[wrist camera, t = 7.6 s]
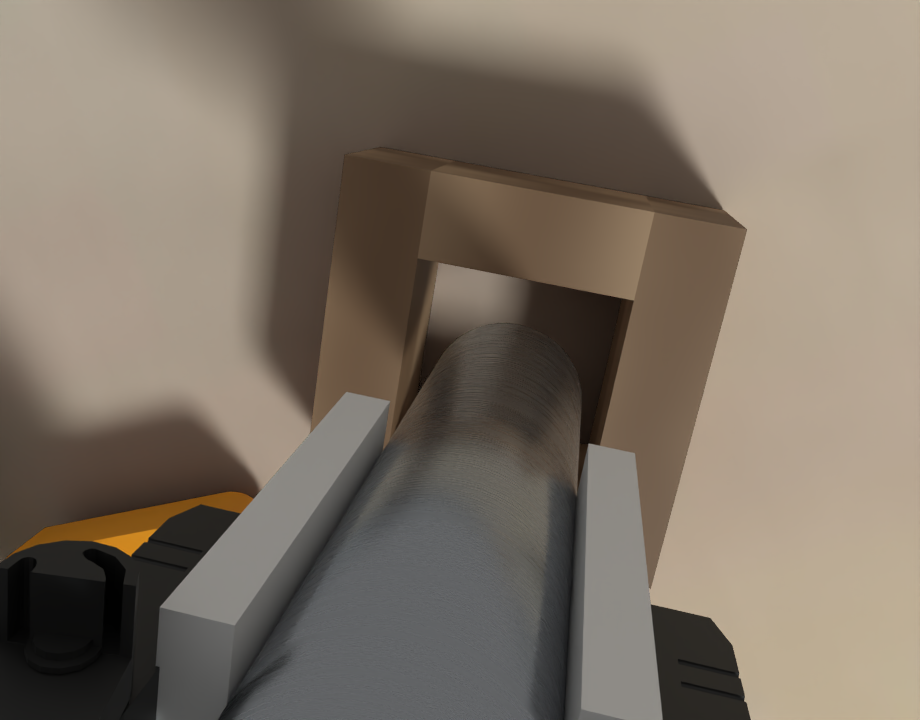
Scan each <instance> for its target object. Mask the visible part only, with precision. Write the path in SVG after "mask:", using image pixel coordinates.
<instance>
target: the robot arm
mask: <svg viewBox="0 0 920 720" xmlns="http://www.w3.org/2000/svg"><path fill="white" fill-rule="evenodd" d="M389 406H390V401H387V400H382V399H378V398H373V397H368V396H363V395H359V394H354V393H349V392H346V393H345V394H344V395H343V396H342V397H341V399H340V400H339V401H338V402H337V403H336V404H335V406H334V407H333V408H332V409H331V410H330V411H329V412H328V414H327V415H326V416H325V417H324V418H323V419H322V421H321V422H320V423H319V424H318V425H317V426H316V428H315V429H314V430H313V431H312V432H311V433H310V434H309V436H308V437H307V438H306V439H305V440H304V441H303V443H302V444H301V445H300V446H299V447H298V448H297V449H296V451H295V452H294V453H293V454H292V455H291V456H290V458H289V459H288V460H287V461H286V462H285V463H284V464H283V466H282V467H281V468H280V469H279V470H278V471H277V473H276V474H275V475H274V476H273V477H272V478H271V479H270V481H269V482H268V483H267V484H266V485H265V486H264V488H263V489H262V490H261V491H260V492H259V493H258V494H257V496H256V497H255V498H254V499H253V500H252V501H251V503H250V504H249V505H248V506H247V507H246V508H245V509H244V511H243V512H242V513H237V512H232V511H228V510H224V509H219V508H215V507H210V506H206V505H202V504H200V505H198V506H196V507H193V508H191V509H189V510H187V511H184V512H182V513H180V514H177V515H175V516H173V517H170V518H169V519H168V520H166V521H165V522H164V523H163V524H162V525H161V526H160V527H159V528H158V529H157V530H156V531H155V532H154V533H153V534H152V535H151V536H150V537H149V538H148V542H144V543H143V544H142V545H141V546H140V547H139V548H138V549H137V550H136V551H135V552H134V553H133V554H132V555H131V556H129V555H128V554H126V553H124V552H123V551H121V550H120V549H118V548H116V547H113V546H109V545H105V544H101V543H97V542H94V541H70V540H64V541H58V542H51V543H45V544H39V545H35V546H33V547H30V548H27V549H25V550H22V551H19V552H17V553H14V554H12V555H11V556H9V557H8V558H7V559H5V560H4V561H2V562H1V563H0V720H218V718H219V717H220V715H221V714H222V712H223V710H224V709H225V707H226V705H227V704H228V702H229V701H230V699H231V697H232V696H233V694H234V692H235V691H236V689H237V687H238V686H239V684H240V683H241V681H242V679H243V678H244V676H245V674H246V673H247V671H248V670H249V668H250V666H251V665H252V663H253V661H254V660H255V658H256V657H257V655H258V653H259V652H260V650H261V648H262V647H263V645H264V644H265V642H266V640H267V639H268V637H269V635H270V634H271V632H272V631H273V629H274V627H275V626H276V624H277V622H278V621H279V619H280V618H281V616H282V614H283V613H284V611H285V609H286V608H287V606H288V605H289V603H290V601H291V600H292V598H293V596H294V595H295V593H296V592H297V590H298V588H299V587H300V585H301V583H302V582H303V580H304V579H305V577H306V575H307V574H308V572H309V570H310V569H311V567H312V566H313V564H314V562H315V561H316V559H317V557H318V556H319V554H320V552H321V551H322V549H323V548H324V546H325V544H326V543H327V541H328V539H329V538H330V536H331V535H332V533H333V531H334V530H335V528H336V526H337V525H338V523H339V522H340V520H341V518H342V517H343V515H344V513H345V512H346V510H347V509H348V507H349V505H350V504H351V502H352V500H353V499H354V497H355V496H356V494H357V492H358V491H359V489H360V487H361V486H362V484H363V483H364V481H365V479H366V478H367V476H368V474H369V473H370V471H371V470H372V468H373V466H374V465H375V463H376V461H377V460H378V458H379V457H380V455H381V453H382V452H383V445H384V439H385V432H386V426H387V419H388V412H389ZM738 677H739V671H738V667H737V663H736V658H735V654H734V650H733V646H732V645H731V643H730V642H729V641H728V640H727V638H726V637H725V636H724V635H723V633H722V632H721V631H720V630H719V628H718V627H717V626H716V625H715V623H714V622H713V621H712V620H711V618H708V617H703V616H699V615H694V614H690V613H686V612H681V611H677V610H673V609H668V608H664V607H660V606H655V605H651V603H650V593H649V584H648V574H647V565H646V555H645V546H644V536H643V526H642V517H641V507H640V498H639V488H638V479H637V469H636V460H635V453H631V452H627V451H622V450H617V449H613V448H608V447H603V446H598V445H594V444H588V448H587V453H586V457H585V461H584V466H583V470H582V474H581V479H580V483H579V487H578V492H577V496H576V510H575V529H574V547H573V565H572V584H571V602H570V621H569V639H568V657H567V676H566V694H565V712H564V720H751V719H750V715H749V711H748V707H747V703H746V702H744V698H745V695H744V691H743V687H742V683H741V679H740V678H738Z"/></svg>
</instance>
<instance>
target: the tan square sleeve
mask: <svg viewBox="0 0 920 720" xmlns="http://www.w3.org/2000/svg"><path fill="white" fill-rule="evenodd" d="M746 232H747V229H746V228H745V227H743V226H742V225H741V224H740V223H739V222H737V221H736V220H735V219H734V218H733V217H731V216H730V215H729V214H728V213H727V212H726V211H724V210H720V209H714V208H709V207H703V206H698V205H692V204H687V203H682V202H676V201H671V200H665V199H660V198H654V197H649V196H644V195H638V194H633V193H627V192H622V191H616V190H611V189H606V188H600V187H595V186H589V185H584V184H578V183H573V182H568V181H562V180H557V179H551V178H546V177H540V176H535V175H530V174H524V173H519V172H513V171H508V170H503V169H497V168H492V167H486V166H481V165H475V164H470V163H465V162H459V161H454V160H448V159H443V158H437V157H432V156H427V155H421V154H416V153H410V152H405V151H399V150H394V149H389V148H383V147H378V148H374V149H369V150H364V151H360V152H355V153H350V154H346V155H344V163H343V171H342V179H341V188H340V196H339V204H338V212H337V220H336V228H335V236H334V244H333V252H332V260H331V269H330V277H329V285H328V293H327V301H326V309H325V317H324V325H323V333H322V341H321V350H320V358H319V366H318V374H317V382H316V390H315V398H314V406H313V414H312V422H311V431H310V433H311V432H312V431H313V430H314V429H315V428H316V426H317V425H318V424H319V423H320V422H321V421H322V419H323V418H324V417H325V416H326V415H327V414H328V412H329V411H330V410H331V409H332V408H333V407H334V406H335V404H336V403H337V402H338V401H339V400H340V399H341V397H342V396H343V395H344V394H345V393H346V392H349V393H354V394H359V395H363V396H368V397H373V398H378V399H382V400H387V401H390V406H389V412H388V419H387V426H386V432H385V439H384V445H383V450H384V448H385V447H386V445H387V444H388V442H389V440H390V439H391V437H392V435H393V434H394V432H395V430H396V429H397V427H398V426H399V424H400V422H401V421H402V419H403V417H404V416H405V414H406V413H407V411H408V409H409V408H410V406H411V404H412V403H413V401H414V400H415V398H416V396H417V392H418V386H419V379H420V373H421V367H422V361H423V355H424V348H425V342H426V336H427V330H428V324H429V318H430V311H431V305H432V299H433V293H434V287H435V280H436V274H437V268H438V262H439V263H444V264H449V265H455V266H460V267H465V268H470V269H475V270H480V271H485V272H490V273H496V274H501V275H506V276H511V277H516V278H521V279H526V280H531V281H536V282H542V283H547V284H552V285H557V286H562V287H567V288H572V289H577V290H582V291H588V292H593V293H598V294H603V295H608V296H613V297H618V298H622V301H621V305H620V309H619V314H618V318H617V322H616V327H615V331H614V336H613V340H612V344H611V349H610V353H609V357H608V362H607V366H606V370H605V375H604V379H603V383H602V388H601V392H600V396H599V401H598V405H597V409H596V414H595V418H594V422H593V427H592V431H591V435H590V440H589V444H594V445H598V446H603V447H608V448H613V449H617V450H622V451H627V452H631V453H635V460H636V469H637V479H638V488H639V498H640V507H641V517H642V526H643V536H644V546H645V555H646V565H647V574H648V584H649V588H650V589H651V585H652V582H653V578H654V574H655V571H656V567H657V563H658V559H659V556H660V552H661V548H662V544H663V541H664V537H665V533H666V530H667V526H668V522H669V518H670V515H671V511H672V507H673V503H674V500H675V496H676V492H677V489H678V485H679V481H680V477H681V474H682V470H683V466H684V463H685V459H686V455H687V451H688V448H689V444H690V440H691V436H692V433H693V429H694V425H695V422H696V418H697V414H698V410H699V407H700V403H701V399H702V396H703V392H704V388H705V384H706V381H707V377H708V373H709V369H710V366H711V362H712V358H713V355H714V351H715V347H716V343H717V340H718V336H719V332H720V329H721V325H722V321H723V317H724V314H725V310H726V306H727V302H728V299H729V295H730V291H731V288H732V284H733V280H734V276H735V273H736V269H737V265H738V262H739V258H740V254H741V250H742V247H743V243H744V239H745V235H746ZM587 448H588V445H586V444H581V443H579V462H578V480H577V492H578V487H579V483H580V479H581V474H582V470H583V466H584V461H585V457H586V453H587Z"/></svg>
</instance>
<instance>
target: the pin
mask: <svg viewBox="0 0 920 720" xmlns="http://www.w3.org/2000/svg"><path fill="white" fill-rule="evenodd" d="M581 405H582V392H581V384H580V381H579V377H578V374H577V371H576V369H575V367H574V365H573V363H572V361H571V360H570V358H569V357H568V355H567V354H566V353H565V352H564V350H563V349H562V348H561V347H560V346H559V345H558V344H557V343H556V342H554V341H553V340H552V339H550V338H549V337H548V336H546V335H544V334H543V333H541V332H539V331H537V330H534V329H532V328H529V327H526V326H522V325H518V324H510V323H497V324H489V325H485V326H481V327H478V328H476V329H473V330H471V331H469V332H467V333H465V334H463V335H462V336H460V337H459V338H458V339H456V340H455V341H454V342H453V343H452V344H451V345H450V346H449V347H448V348H447V349H446V350H445V352H444V353H443V354H442V356H441V357H440V359H439V361H438V362H437V364H436V365H435V367H434V369H433V370H432V372H431V374H430V375H429V377H428V378H427V380H426V382H425V383H424V385H423V387H422V388H421V390H420V391H419V393H418V395H417V396H416V398H415V400H414V401H413V403H412V404H411V406H410V408H409V409H408V411H407V413H406V414H405V416H404V417H403V419H402V421H401V422H400V424H399V426H398V427H397V429H396V430H395V432H394V434H393V435H392V437H391V439H390V440H389V442H388V444H387V445H386V447H385V448H384V450H383V452H382V453H381V455H380V457H379V458H378V460H377V461H376V463H375V465H374V466H373V468H372V470H371V471H370V473H369V474H368V476H367V478H366V479H365V481H364V483H363V484H362V486H361V487H360V489H359V491H358V492H357V494H356V496H355V497H354V499H353V500H352V502H351V504H350V505H349V507H348V509H347V510H346V512H345V513H344V515H343V517H342V518H341V520H340V522H339V523H338V525H337V526H336V528H335V530H334V531H333V533H332V535H331V536H330V538H329V539H328V541H327V543H326V544H325V546H324V548H323V549H322V551H321V552H320V554H319V556H318V557H317V559H316V561H315V562H314V564H313V566H312V567H311V569H310V570H309V572H308V574H307V575H306V577H305V579H304V580H303V582H302V583H301V585H300V587H299V588H298V590H297V592H296V593H295V595H294V596H293V598H292V600H291V601H290V603H289V605H288V606H287V608H286V609H285V611H284V613H283V614H282V616H281V618H280V619H279V621H278V622H277V624H276V626H275V627H274V629H273V631H272V632H271V634H270V635H269V637H268V639H267V640H266V642H265V644H264V645H263V647H262V648H261V650H260V652H259V653H258V655H257V657H256V658H255V660H254V661H253V663H252V665H251V666H250V668H249V670H248V671H247V673H246V674H245V676H244V678H243V679H242V681H241V683H240V684H239V686H238V687H237V689H236V691H235V692H234V694H233V696H232V697H231V699H230V701H229V702H228V704H227V705H226V707H225V709H224V710H223V712H222V714H221V715H220V717H219V718H218V720H564V712H565V694H566V676H567V657H568V639H569V621H570V602H571V584H572V565H573V547H574V529H575V510H576V496H577V480H578V462H579V443H580V424H581Z"/></svg>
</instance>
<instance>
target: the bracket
mask: <svg viewBox="0 0 920 720" xmlns="http://www.w3.org/2000/svg"><path fill="white" fill-rule="evenodd" d="M252 500H253V498H252V497H250V496H248V495H246V494H243V493H240V492H224V493H219V494H214V495H209V496H204V497H198V498H193V499H188V500H183V501H178V502H173V503H168V504H163V505H158V506H152V507H147V508H142V509H137V510H132V511H127V512H122V513H117V514H112V515H107V516H101V517H96V518H91V519H86V520H81V521H76V522H71V523H66V524H61V525H56V526H50V527H45V528H44V529H43V530H41V531H40V532H39V533H37V534H36V535H35V536H34V537H32V538H31V539H30V540H28V541H27V542H26V543H25V544H23V545H22V546H21V547H19V548H18V549H17V550H15V551H14V552H13V553H12V554H14V553H17V552H19V551H22V550H25V549H27V548H30V547H33V546H35V545H39V544H45V543H51V542H58V541H64V540H70V541H94V542H97V543H101V544H105V545H109V546H113V547H116V548H118V549H120V550H121V551H123V552H124V553H126V554H128V555H129V556H131V555H132V554H133V553H134V552H135V551H136V550H137V549H138V548H139V547H140V546H141V545H142V544H143V543H144V542H148V538H149V537H150V536H151V535H152V534H153V533H154V532H155V531H156V530H157V529H158V528H159V527H160V526H161V525H162V524H163V523H164V522H165V521H166V520H168V519H169V518H170V517H173V516H175V515H177V514H180V513H182V512H184V511H187V510H189V509H191V508H193V507H196V506H198V505H200V504H202V505H206V506H210V507H215V508H219V509H224V510H228V511H232V512H237V513H242V512H243V511H244V509H245V508H246V507H247V506H248V505H249V504H250V503H251V501H252ZM12 554H10V555H9V556H11V555H12ZM9 556H8V557H9ZM8 557H7V558H8ZM7 558H6V559H7Z"/></svg>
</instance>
